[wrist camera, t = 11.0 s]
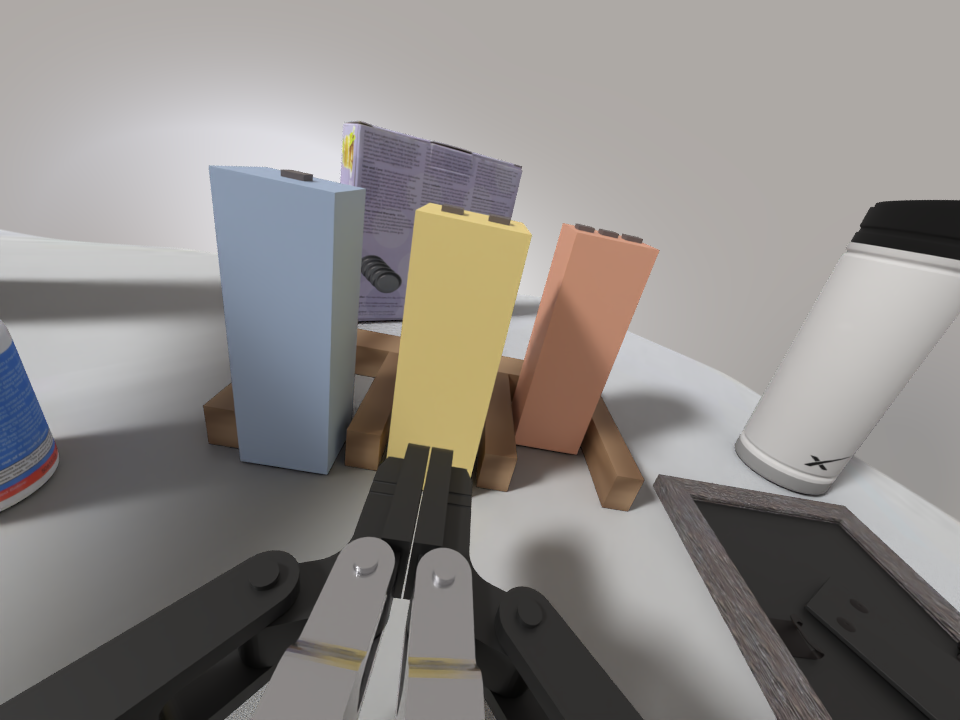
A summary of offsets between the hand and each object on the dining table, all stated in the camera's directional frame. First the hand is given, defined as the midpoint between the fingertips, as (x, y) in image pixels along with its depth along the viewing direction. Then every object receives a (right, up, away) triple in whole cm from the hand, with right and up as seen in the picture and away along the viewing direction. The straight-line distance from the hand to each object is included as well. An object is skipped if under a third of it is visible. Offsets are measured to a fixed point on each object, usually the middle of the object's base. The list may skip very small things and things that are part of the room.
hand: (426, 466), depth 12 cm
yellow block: (-1, -3, +10) cm, 10 cm away
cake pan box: (-5, +9, +32) cm, 34 cm away
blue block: (-9, -1, +9) cm, 13 cm away
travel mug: (+25, -5, +17) cm, 31 cm away
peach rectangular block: (+6, -2, +15) cm, 16 cm away
